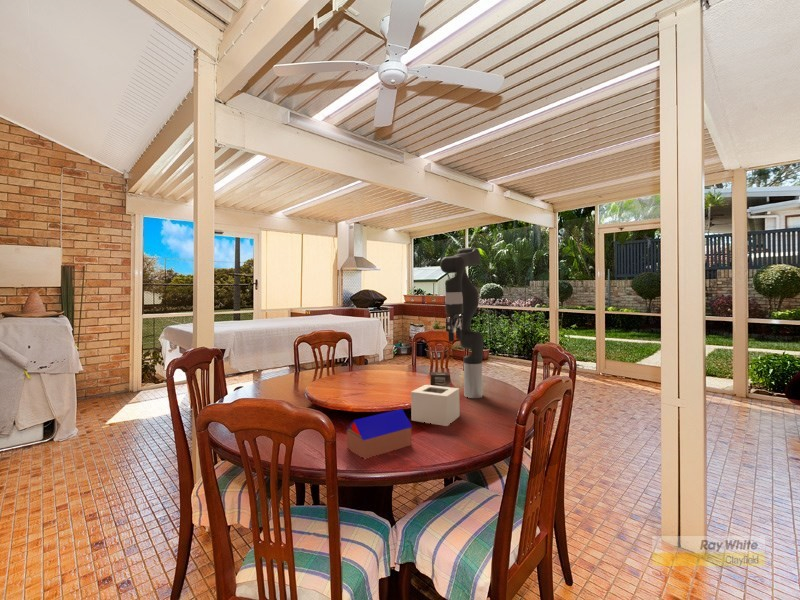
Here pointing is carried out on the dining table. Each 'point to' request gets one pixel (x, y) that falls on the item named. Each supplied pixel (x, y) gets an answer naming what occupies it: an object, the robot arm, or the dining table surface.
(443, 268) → the robot arm
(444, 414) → the slot box
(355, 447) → the house
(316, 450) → the dining table surface
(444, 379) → the coffee box
